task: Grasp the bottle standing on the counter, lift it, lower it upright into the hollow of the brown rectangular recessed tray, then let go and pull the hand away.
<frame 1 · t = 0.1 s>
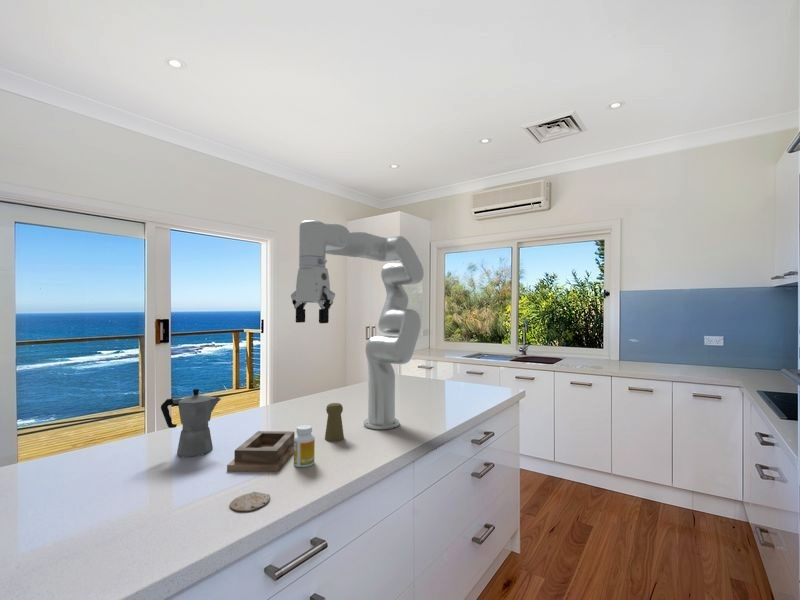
hand: (311, 322, 115), 37 cm above the worktop, tool pointing down, fingers open, 9 cm apart
cork: (334, 438, 126), on the worktop
brown rectangular recessed tray: (266, 456, 111), on the worktop
flatbread: (250, 504, 84), on the worktop
coffeepot: (190, 452, 114), on the worktop
supplement bottle: (304, 464, 106), on the worktop
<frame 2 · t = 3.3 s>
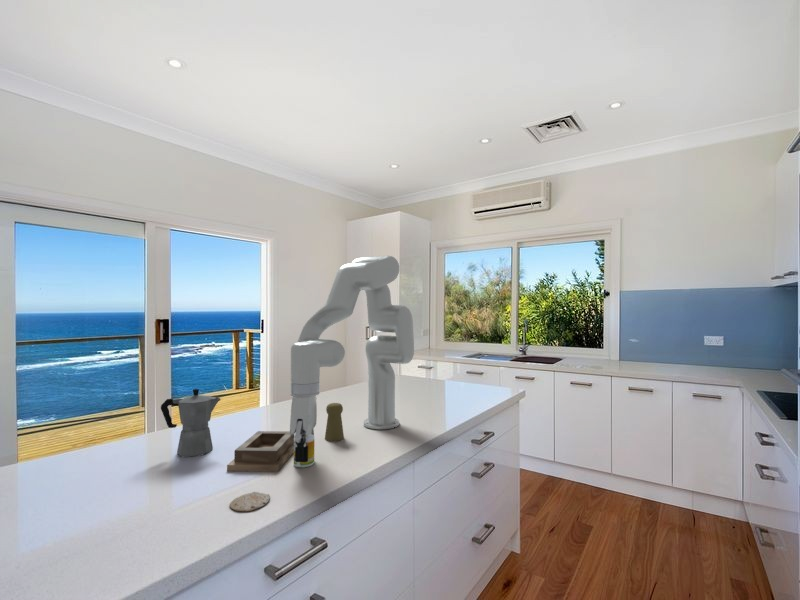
hand: (304, 456, 105), 2 cm above the worktop, tool pointing down, fingers closed on supplement bottle, 5 cm apart
supplement bottle: (304, 464, 105), on the worktop, touching gripper
everything else where it was.
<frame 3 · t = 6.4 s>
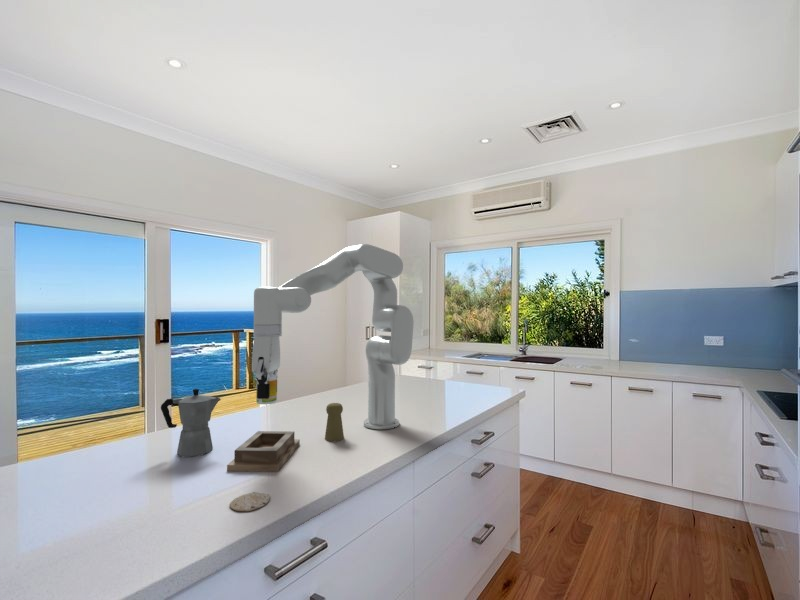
hand: (267, 395, 111), 17 cm above the worktop, tool pointing down, fingers closed on supplement bottle, 5 cm apart
supplement bottle: (266, 403, 111), point 15 cm above the worktop, touching gripper
everything else where it was.
when the fingers open (5 cm above the worktop, at t = 9.7 s): supplement bottle drops 1 cm, resting on brown rectangular recessed tray.
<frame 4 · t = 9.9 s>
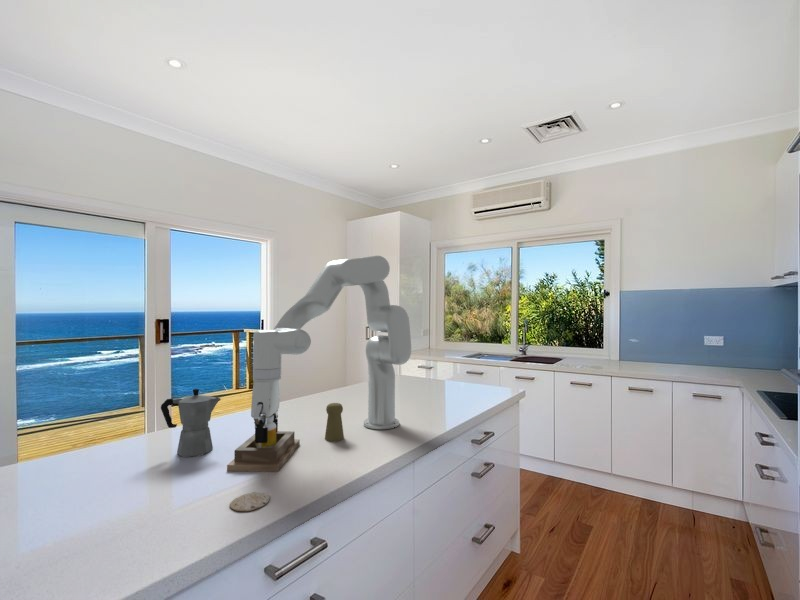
hand: (266, 437, 111), 5 cm above the worktop, tool pointing down, fingers open, 7 cm apart
supplement bottle: (266, 451, 110), point 1 cm above the worktop, touching brown rectangular recessed tray
everything else where it was.
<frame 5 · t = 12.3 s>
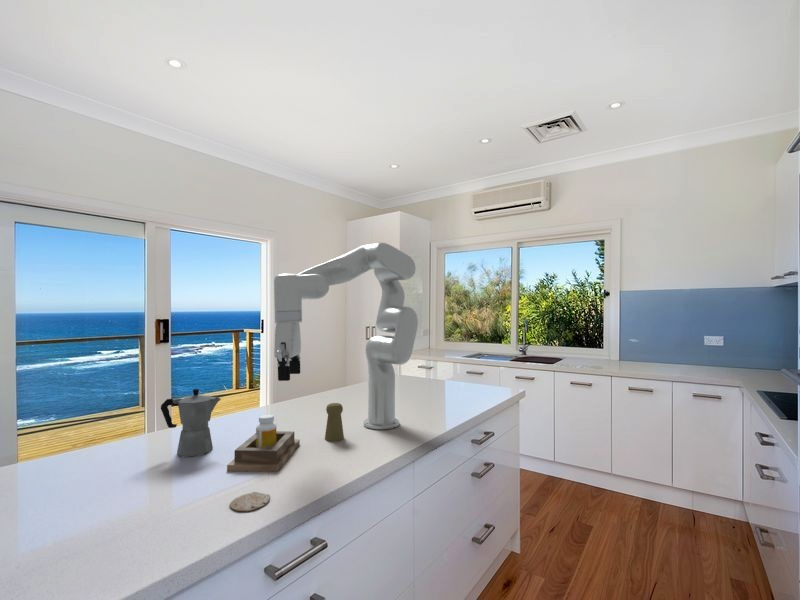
hand: (289, 376, 114), 22 cm above the worktop, tool pointing down, fingers open, 9 cm apart
nothing on the worktop moved.
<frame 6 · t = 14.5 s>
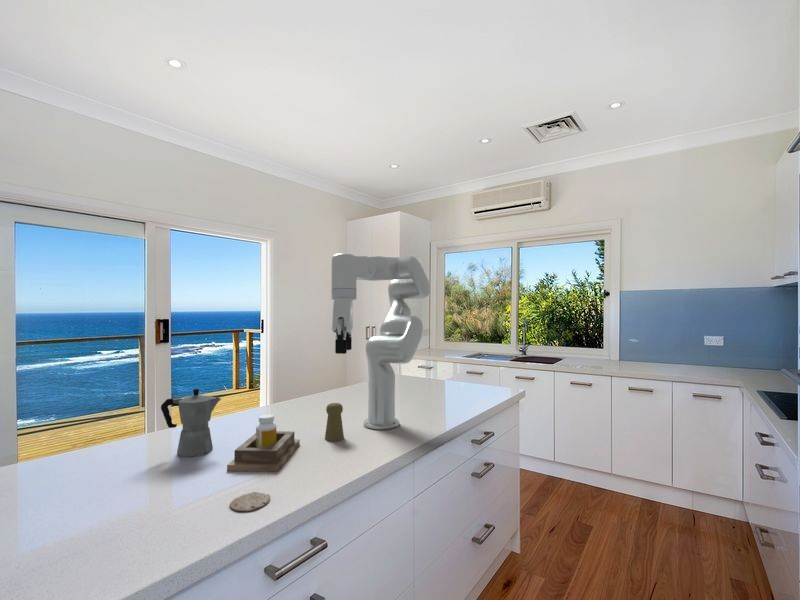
hand: (343, 351, 120), 28 cm above the worktop, tool pointing down, fingers open, 9 cm apart
nothing on the worktop moved.
at the end: supplement bottle 0.1 cm off-centre on the brown rectangular recessed tray, point 1.3 cm above the brown rectangular recessed tray's base; supplement bottle tilted 0°; the gripper is holding nothing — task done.
